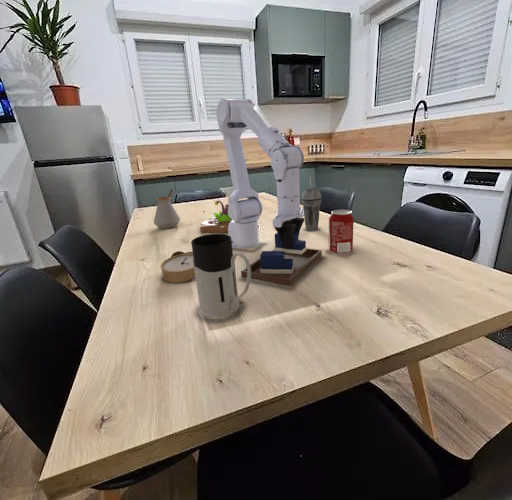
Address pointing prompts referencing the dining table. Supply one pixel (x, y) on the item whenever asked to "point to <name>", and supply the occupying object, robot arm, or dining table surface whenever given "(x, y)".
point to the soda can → (341, 231)
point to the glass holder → (217, 275)
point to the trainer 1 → (297, 245)
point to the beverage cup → (311, 207)
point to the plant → (217, 221)
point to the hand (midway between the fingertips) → (290, 246)
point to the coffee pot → (166, 213)
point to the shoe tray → (300, 266)
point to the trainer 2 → (275, 263)
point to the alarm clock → (178, 267)
